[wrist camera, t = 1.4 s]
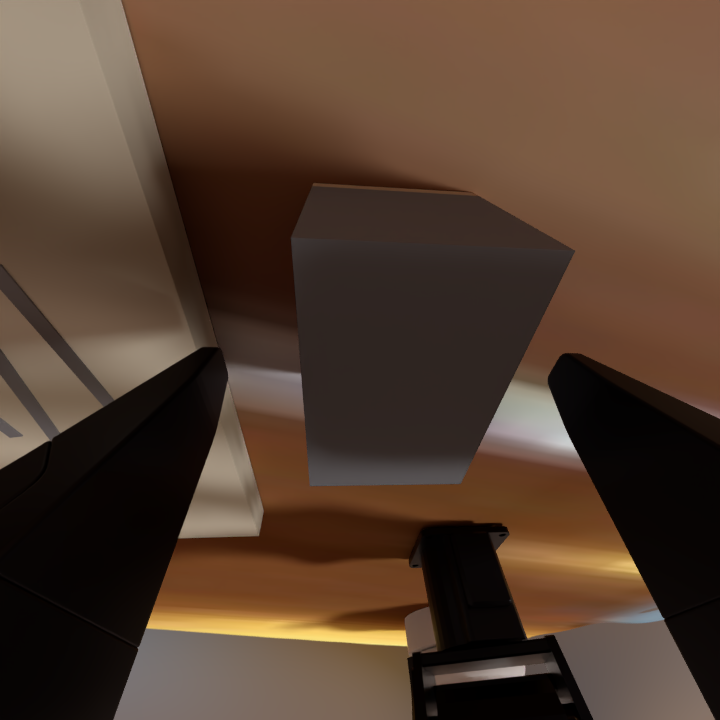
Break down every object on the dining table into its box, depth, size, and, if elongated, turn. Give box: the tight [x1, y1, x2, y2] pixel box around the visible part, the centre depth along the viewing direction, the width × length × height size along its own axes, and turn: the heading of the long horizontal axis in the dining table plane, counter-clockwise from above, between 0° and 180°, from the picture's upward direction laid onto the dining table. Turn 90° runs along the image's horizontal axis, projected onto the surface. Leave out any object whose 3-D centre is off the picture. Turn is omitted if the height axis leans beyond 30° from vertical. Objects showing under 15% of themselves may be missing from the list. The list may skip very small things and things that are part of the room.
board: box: [0, 0, 264, 538], centre depth 12 cm, size 22×12×2 cm, turn 176°
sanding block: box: [291, 183, 575, 486], centre depth 9 cm, size 7×4×5 cm, turn 177°
